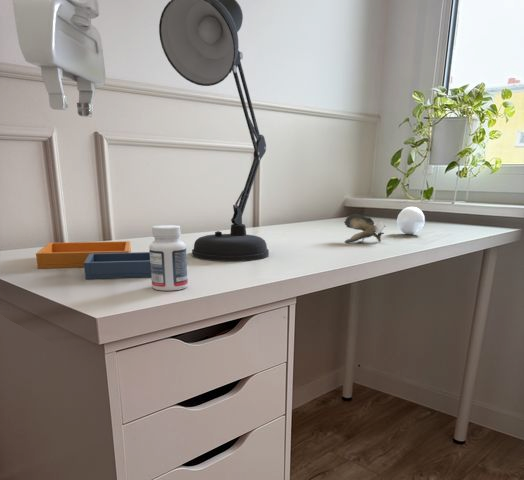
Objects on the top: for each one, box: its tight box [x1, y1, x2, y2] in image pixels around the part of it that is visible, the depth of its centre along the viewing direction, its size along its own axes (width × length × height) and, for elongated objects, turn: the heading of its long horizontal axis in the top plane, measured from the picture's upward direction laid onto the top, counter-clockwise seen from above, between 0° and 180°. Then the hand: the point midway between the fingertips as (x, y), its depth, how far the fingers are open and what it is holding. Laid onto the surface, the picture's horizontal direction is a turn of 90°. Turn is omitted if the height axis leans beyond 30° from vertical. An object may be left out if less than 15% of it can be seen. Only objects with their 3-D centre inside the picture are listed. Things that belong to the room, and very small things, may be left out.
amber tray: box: [35, 240, 132, 269], centre depth 97 cm, size 16×14×3 cm
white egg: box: [396, 206, 426, 235], centre depth 141 cm, size 10×7×7 cm
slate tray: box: [83, 251, 151, 280], centre depth 87 cm, size 12×10×3 cm
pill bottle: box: [148, 224, 189, 292], centre depth 75 cm, size 5×5×9 cm
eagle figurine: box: [343, 213, 386, 243], centre depth 125 cm, size 8×7×9 cm
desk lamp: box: [158, 0, 270, 262], centre depth 98 cm, size 24×26×45 cm
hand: (73, 113), depth 71 cm, fingers open, 8 cm apart
